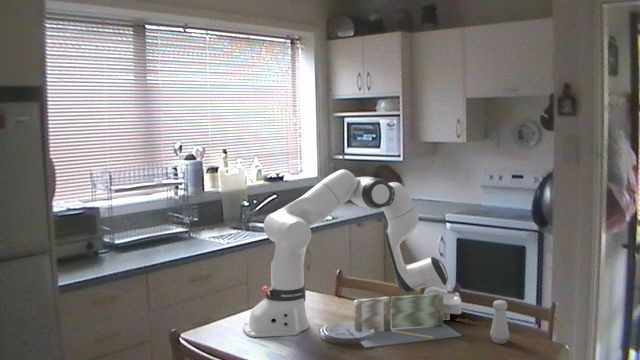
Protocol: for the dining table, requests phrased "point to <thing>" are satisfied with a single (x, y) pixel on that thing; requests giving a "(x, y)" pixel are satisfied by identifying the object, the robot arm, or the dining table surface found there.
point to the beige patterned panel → (372, 314)
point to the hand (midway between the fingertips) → (429, 311)
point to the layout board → (409, 335)
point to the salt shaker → (499, 323)
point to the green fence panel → (416, 310)
